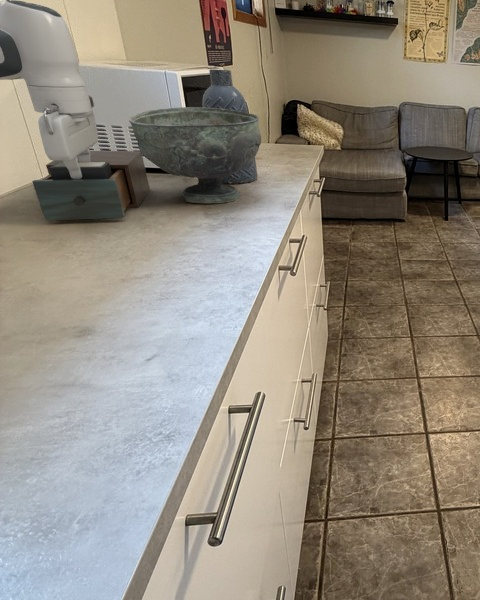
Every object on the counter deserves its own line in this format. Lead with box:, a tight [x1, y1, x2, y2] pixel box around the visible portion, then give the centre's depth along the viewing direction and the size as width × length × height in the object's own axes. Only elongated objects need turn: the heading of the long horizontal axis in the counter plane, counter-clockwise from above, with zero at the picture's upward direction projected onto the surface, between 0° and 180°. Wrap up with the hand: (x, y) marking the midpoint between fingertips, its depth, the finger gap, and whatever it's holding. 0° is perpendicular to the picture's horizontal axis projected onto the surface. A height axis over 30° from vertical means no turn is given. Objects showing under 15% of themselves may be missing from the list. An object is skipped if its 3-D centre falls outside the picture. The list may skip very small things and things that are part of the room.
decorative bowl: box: [127, 106, 262, 204], centre depth 113 cm, size 26×26×20 cm
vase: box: [202, 68, 258, 185], centre depth 128 cm, size 12×12×28 cm
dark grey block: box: [49, 162, 112, 180], centre depth 96 cm, size 5×9×4 cm, turn 111°
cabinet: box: [45, 150, 151, 209], centre depth 109 cm, size 16×15×10 cm
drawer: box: [32, 168, 132, 221], centre depth 99 cm, size 16×13×8 cm
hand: (82, 174), depth 97 cm, fingers closed on dark grey block, 5 cm apart
